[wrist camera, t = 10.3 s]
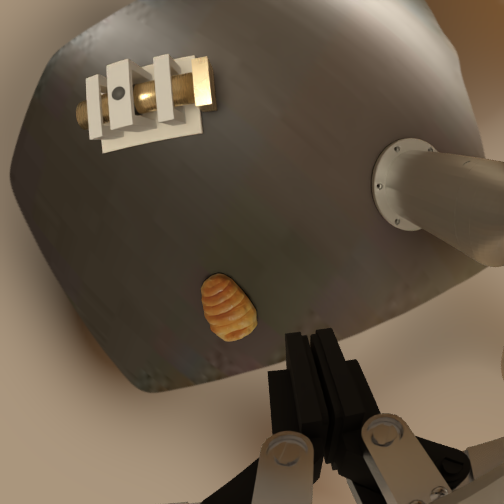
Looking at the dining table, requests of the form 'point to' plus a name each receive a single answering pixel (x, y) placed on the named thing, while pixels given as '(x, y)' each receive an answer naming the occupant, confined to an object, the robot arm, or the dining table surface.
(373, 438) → the robot arm
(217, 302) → the pastry
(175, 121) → the white slotted holder
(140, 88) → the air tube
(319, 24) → the dining table surface
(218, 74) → the dining table surface
